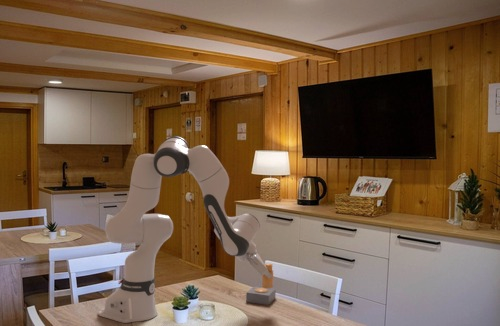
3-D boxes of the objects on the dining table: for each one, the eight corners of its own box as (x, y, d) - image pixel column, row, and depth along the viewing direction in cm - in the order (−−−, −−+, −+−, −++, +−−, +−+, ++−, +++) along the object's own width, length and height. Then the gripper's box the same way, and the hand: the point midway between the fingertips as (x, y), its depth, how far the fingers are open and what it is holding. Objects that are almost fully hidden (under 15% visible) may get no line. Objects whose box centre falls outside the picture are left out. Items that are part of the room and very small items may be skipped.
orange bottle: (260, 287, 178) (261, 265, 177) (263, 284, 182) (264, 262, 182) (271, 289, 176) (271, 266, 176) (274, 285, 180) (274, 263, 180)
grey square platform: (246, 301, 190) (246, 292, 190) (253, 295, 199) (254, 285, 199) (268, 305, 187) (268, 295, 186) (275, 298, 196) (275, 288, 196)
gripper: (255, 251, 167) (280, 276, 169) (248, 239, 187) (270, 262, 189) (243, 262, 167) (268, 288, 168) (237, 250, 187) (259, 273, 189)
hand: (269, 274), depth 179 cm, fingers closed on orange bottle, 4 cm apart
